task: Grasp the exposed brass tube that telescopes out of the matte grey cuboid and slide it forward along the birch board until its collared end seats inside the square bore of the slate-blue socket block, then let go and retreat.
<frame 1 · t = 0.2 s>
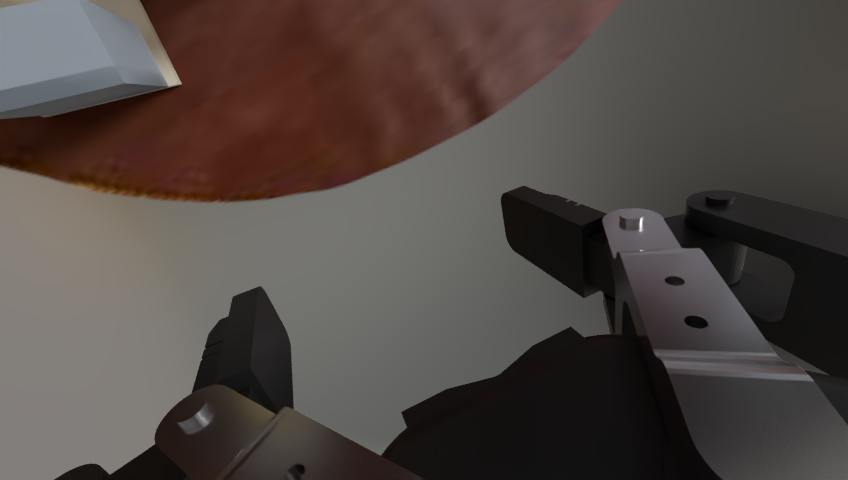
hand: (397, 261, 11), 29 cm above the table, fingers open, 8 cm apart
socket: (100, 70, 29), resting on board
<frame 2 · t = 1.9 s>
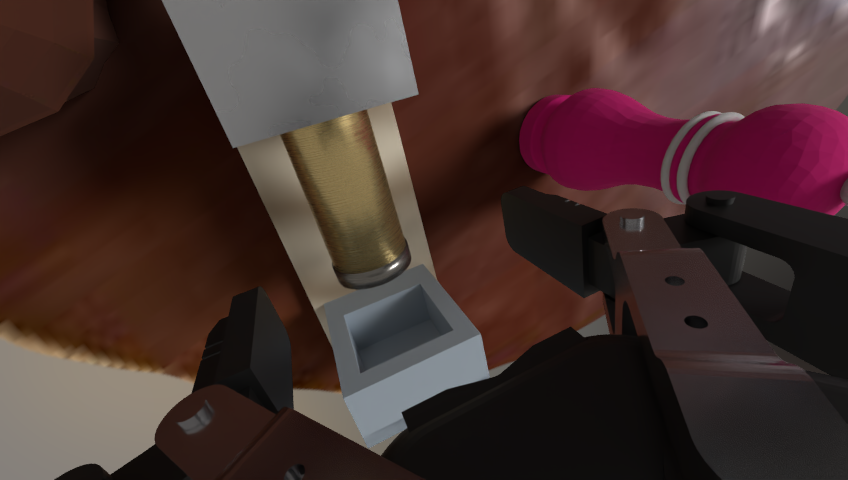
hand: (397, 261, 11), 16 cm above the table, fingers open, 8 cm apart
tube: (321, 113, 17), point 7 cm above the table, slide at 0.0 cm
socket: (379, 298, 30), resting on board
pepper mill: (547, 134, 30), on the table
muffin: (1, 3, 17), on the table
board: (341, 193, 26), on the table
matte grey cuboid: (295, 65, 22), resting on board
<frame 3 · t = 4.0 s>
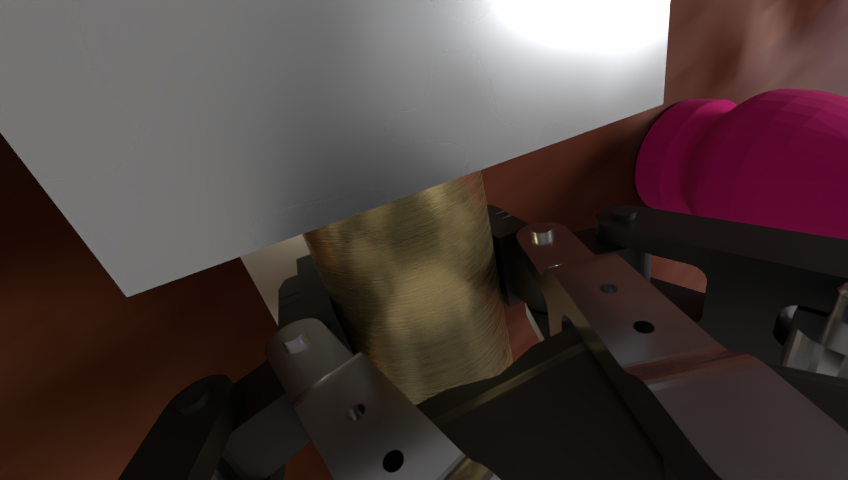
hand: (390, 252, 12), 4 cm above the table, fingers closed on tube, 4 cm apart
tube: (375, 146, 8), point 7 cm above the table, slide at 0.0 cm, touching gripper
pepper mill: (671, 156, 21), on the table
board: (380, 256, 16), on the table
matte grey cuboid: (311, 51, 12), resting on board
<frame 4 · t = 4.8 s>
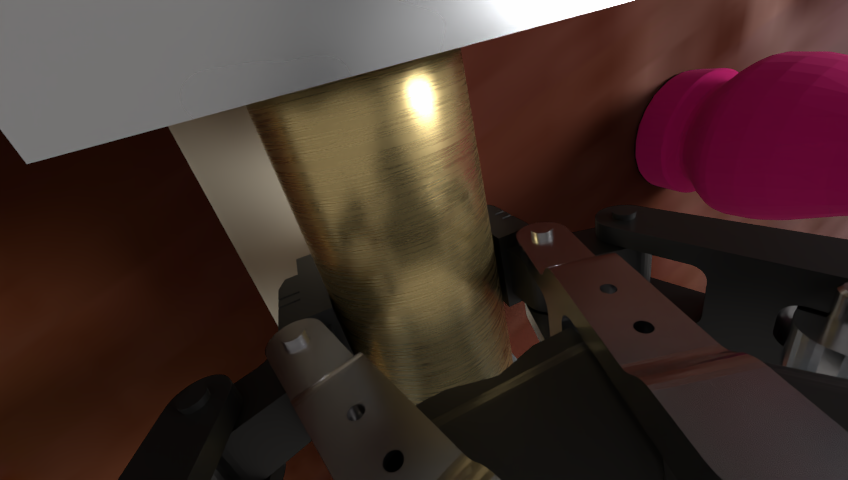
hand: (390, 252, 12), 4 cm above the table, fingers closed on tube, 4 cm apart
tube: (375, 145, 8), point 7 cm above the table, slide at 1.5 cm, touching gripper
pepper mill: (672, 130, 20), on the table
board: (370, 227, 16), on the table
matte grey cuboid: (294, 2, 12), resting on board
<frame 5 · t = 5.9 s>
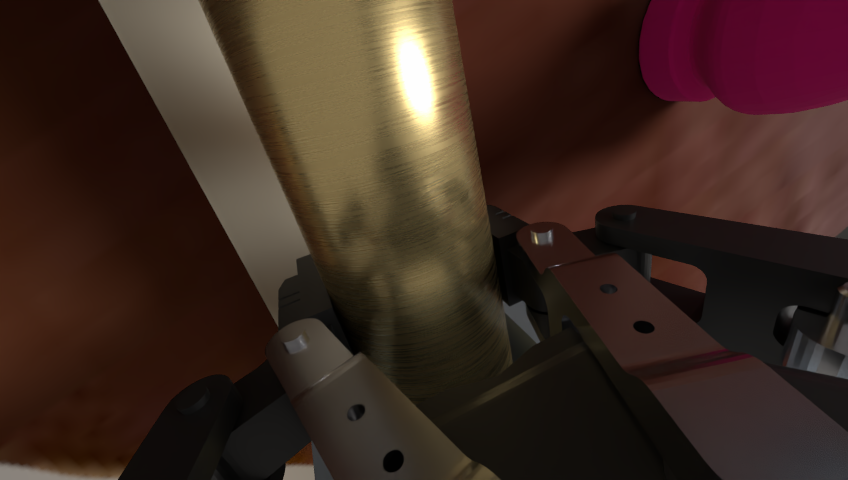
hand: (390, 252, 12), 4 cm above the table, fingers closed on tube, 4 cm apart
tube: (375, 146, 8), point 6 cm above the table, slide at 6.4 cm, touching gripper
socket: (399, 313, 18), resting on board
pepper mill: (680, 34, 18), on the table
board: (331, 114, 13), on the table
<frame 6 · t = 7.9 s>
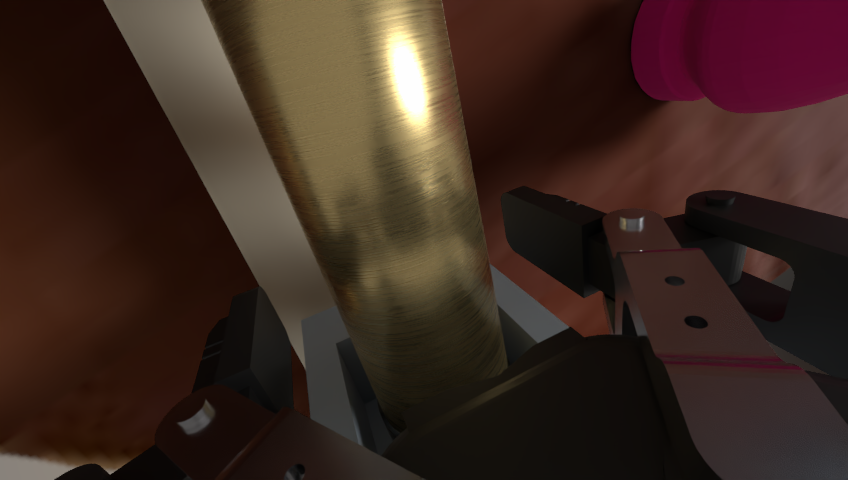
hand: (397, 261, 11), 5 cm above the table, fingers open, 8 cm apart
tube: (371, 145, 8), point 6 cm above the table, slide at 6.4 cm
socket: (398, 309, 18), resting on board
pepper mill: (672, 35, 18), on the table
board: (330, 114, 14), on the table
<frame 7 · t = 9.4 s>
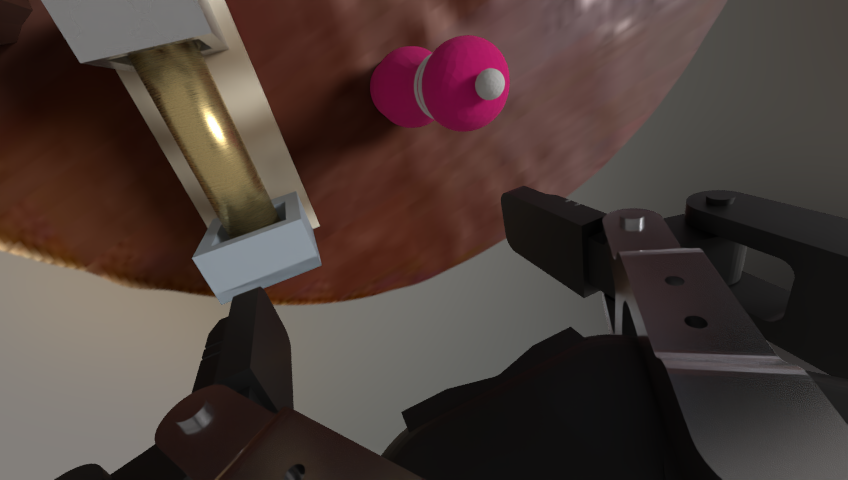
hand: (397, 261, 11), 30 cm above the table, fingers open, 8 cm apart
tube: (211, 142, 28), point 7 cm above the table, slide at 6.4 cm
socket: (265, 221, 38), resting on board
pepper mill: (397, 89, 38), on the table
board: (220, 130, 34), on the table
matte grey cuboid: (170, 29, 30), resting on board
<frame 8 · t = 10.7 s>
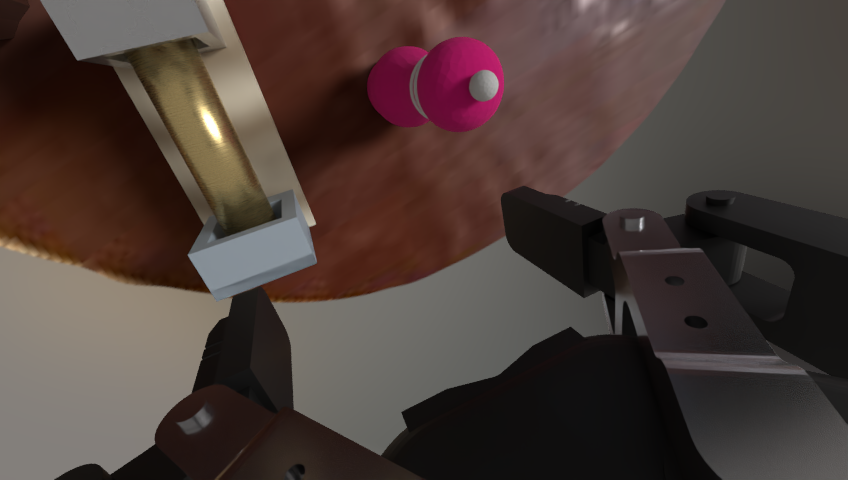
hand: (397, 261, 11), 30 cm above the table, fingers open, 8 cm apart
tube: (207, 139, 28), point 7 cm above the table, slide at 6.4 cm
socket: (262, 219, 38), resting on board
pepper mill: (394, 88, 38), on the table
board: (217, 127, 34), on the table
matte grey cuboid: (167, 26, 30), resting on board
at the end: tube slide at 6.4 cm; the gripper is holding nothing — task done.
